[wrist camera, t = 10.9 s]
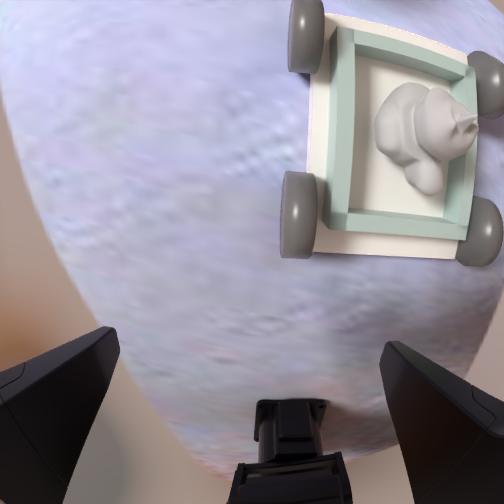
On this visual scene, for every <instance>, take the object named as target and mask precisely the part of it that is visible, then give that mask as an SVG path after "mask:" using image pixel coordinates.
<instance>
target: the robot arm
mask: <svg viewBox="0 0 504 504" xmlns="http://www.w3.org/2000/svg"><path fill="white" fill-rule="evenodd" d="M119 354H120V346H119V342H118V337H117V332H116V330H115V329H114V328H113V327H107V326H103V327H101V328H99V329H96V330H94V331H92V332H90V333H88V334H85V335H83V336H81V337H79V338H76V339H74V340H72V341H70V342H68V343H65V344H63V345H61V346H59V347H57V348H54V349H52V350H50V351H48V352H45V353H43V354H41V355H39V356H37V357H34V358H32V359H30V360H28V361H26V362H23V363H21V364H18V365H16V366H14V367H12V368H9V369H7V370H4V371H2V372H0V504H62V503H63V500H64V497H65V494H66V492H67V489H68V488H67V487H68V485H69V483H70V480H71V477H72V474H73V472H74V469H75V466H76V464H77V461H78V459H79V456H80V454H81V451H82V449H83V446H84V443H85V441H86V439H87V436H88V434H89V431H90V429H91V426H92V424H93V422H94V420H95V417H96V415H97V412H98V410H99V408H100V406H101V403H102V401H103V399H104V397H105V394H106V392H107V389H108V387H109V384H110V381H111V378H112V375H113V372H114V369H115V366H116V363H117V360H118V357H119ZM380 371H381V376H382V381H383V386H384V391H385V396H386V400H387V404H388V408H389V411H390V414H391V417H392V421H393V424H394V427H395V431H396V434H397V437H398V441H399V444H400V448H401V451H402V455H403V458H404V462H405V466H406V470H407V474H408V478H409V481H410V485H411V490H412V494H413V498H414V503H415V504H504V402H503V401H501V400H499V399H497V398H495V397H493V396H491V395H489V394H487V393H485V392H484V391H482V390H480V389H479V388H477V387H475V386H474V385H471V384H470V383H468V382H467V381H465V380H463V379H462V378H460V377H458V376H457V375H455V374H453V373H451V372H450V371H448V370H446V369H445V368H443V367H441V366H440V365H438V364H436V363H435V362H433V361H431V360H430V359H428V358H426V357H424V356H423V355H421V354H419V353H418V352H416V351H414V350H413V349H411V348H409V347H408V346H406V345H404V344H403V343H401V342H399V341H388V342H387V343H386V344H385V347H384V350H383V353H382V356H381V359H380ZM325 409H326V402H325V401H324V400H314V401H271V400H260V401H258V402H257V405H256V418H255V430H254V440H255V441H256V442H259V460H258V463H255V464H245V463H238V467H237V470H236V471H235V475H234V479H233V483H232V487H231V492H230V496H229V499H228V501H227V503H226V504H353V501H352V492H351V486H350V482H349V478H348V475H347V471H346V468H345V464H344V461H343V457H342V454H341V451H340V452H335V453H334V454H329V455H323V451H322V444H321V438H320V432H319V428H320V425H321V422H322V419H323V416H324V413H325Z"/></svg>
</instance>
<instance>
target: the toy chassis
mask: <svg viewBox="0 0 504 504" xmlns="http://www.w3.org/2000/svg"><path fill="white" fill-rule="evenodd" d="M288 70H289V72H297V73H307V74H310V97H309V125H308V146H307V164H306V172H292V171H286V172H285V174H284V180H283V188H282V199H281V215H280V254H281V258H295V259H309V258H310V256H311V254H312V252H325V253H345V254H365V255H384V256H404V257H423V258H442V259H455V257H456V259H457V260H458V261H459V262H460V263H461V264H463V265H465V266H482V267H483V266H487V265H489V264H490V263H492V262H493V261H494V259H495V258H496V257H497V255H498V253H499V251H500V249H501V245H502V241H503V221H502V217H501V214H500V212H499V210H498V208H497V206H496V205H495V204H494V203H493V202H492V201H490V200H488V199H485V198H481V197H476V196H473V189H474V180H475V169H476V154H477V136H476V138H475V140H474V143H473V145H472V146H471V148H470V149H469V150H468V151H467V152H466V153H464V154H463V155H461V156H459V157H456V158H454V159H451V160H449V161H443V162H441V167H442V171H443V189H442V191H441V192H440V193H439V194H437V195H435V196H427V195H425V194H423V193H422V192H421V191H420V190H419V189H416V188H413V187H412V186H411V185H409V184H408V182H407V180H406V178H405V174H404V165H402V164H399V163H397V162H395V161H394V160H392V159H391V158H390V157H388V156H386V155H384V154H383V153H381V152H380V151H379V150H378V149H377V147H376V142H375V133H374V120H375V117H376V115H377V113H378V111H379V109H380V107H381V106H382V104H383V102H384V101H385V100H386V98H387V97H388V96H389V95H390V94H391V92H392V91H393V90H394V89H395V88H397V87H399V86H400V85H402V84H404V83H408V82H413V83H419V84H422V85H424V86H425V87H427V88H428V89H430V90H431V89H432V88H435V87H437V88H441V89H444V90H445V91H447V92H448V93H449V94H451V95H452V96H453V97H454V98H455V100H456V101H458V102H459V103H461V104H463V105H464V106H465V107H466V108H467V109H468V111H469V112H470V114H478V115H480V116H483V117H485V118H488V119H495V118H498V117H500V116H501V115H502V114H503V113H504V64H503V63H502V62H501V61H499V60H498V59H496V58H494V57H492V56H490V55H489V54H487V53H485V52H482V51H474V52H472V53H470V54H469V55H468V56H467V54H465V53H463V52H460V51H458V50H456V49H454V48H451V47H449V46H446V45H444V44H441V43H439V42H436V41H434V40H431V39H428V38H425V37H423V36H420V35H417V34H414V33H411V32H407V31H404V30H401V29H398V28H394V27H391V26H387V25H383V24H379V23H376V22H371V21H367V20H363V19H358V18H353V17H348V16H343V15H337V14H332V13H325V12H324V7H323V3H322V1H321V0H292V2H291V8H290V16H289V29H288ZM475 120H476V122H477V118H476V119H475Z"/></svg>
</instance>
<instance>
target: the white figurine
mask: <svg viewBox="0 0 504 504" xmlns="http://www.w3.org/2000/svg"><path fill="white" fill-rule="evenodd" d="M477 116H478V115H477V114H470V112H469V111H468V109H467V108H466V107H465V106H464V105H463V104H461V103H459V102H458V101H456V100H455V98H454V97H453V96H452V95H451V94H449V93H448V92H447V91H445V90H444V89H441V88H437V87H435V88H432V89H431V90H430V89H428V88H427V87H425V86H424V85H422V84H419V83H413V82H408V83H404V84H402V85H400V86H399V87H397V88H395V89H394V90H393V91H392V92H391V94H390V95H389V96H388V97H387V98H386V100H385V101H384V102H383V104H382V106H381V107H380V109H379V111H378V113H377V115H376V117H375V120H374V133H375V142H376V147H377V149H378V150H379V151H380V152H381V153H383V154H384V155H386V156H388V157H390V158H391V159H392V160H394V161H395V162H397V163H399V164H402V165H404V174H405V178H406V180H407V182H408V184H409V185H411V186H412V187H413V188H416V189H419V190H420V191H421V192H422V193H423V194H425V195H427V196H435V195H437V194H439V193H440V192H441V191H442V189H443V171H442V167H441V162H443V161H449V160H451V159H454V158H456V157H459V156H461V155H463V154H464V153H466V152H467V151H468V150H469V149H470V148H471V146H472V145H473V143H474V140H475V138H476V136H477V133H478V131H479V129H480V126H479V124H478V123H477V122H476V120H475V119H476V118H477Z"/></svg>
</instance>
